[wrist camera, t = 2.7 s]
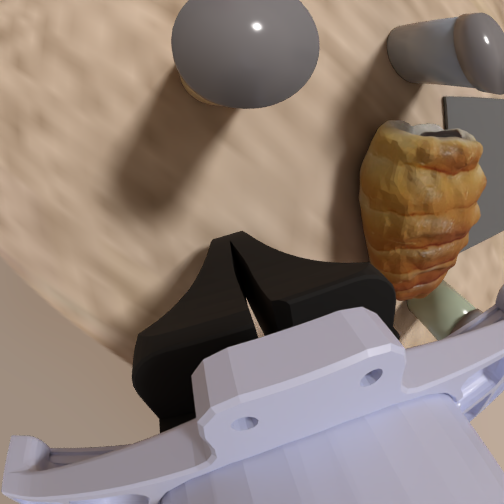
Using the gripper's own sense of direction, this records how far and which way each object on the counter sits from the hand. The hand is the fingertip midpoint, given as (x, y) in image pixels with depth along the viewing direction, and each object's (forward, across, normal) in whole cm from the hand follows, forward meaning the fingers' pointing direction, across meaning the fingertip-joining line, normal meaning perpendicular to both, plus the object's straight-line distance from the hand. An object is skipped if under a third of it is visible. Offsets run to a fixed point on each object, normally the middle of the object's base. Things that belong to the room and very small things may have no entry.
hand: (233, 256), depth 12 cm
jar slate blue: (+1, -10, -7) cm, 13 cm away
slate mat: (+1, -17, 0) cm, 17 cm away
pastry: (+1, -9, 0) cm, 9 cm away
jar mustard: (+1, -1, -7) cm, 7 cm away
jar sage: (+1, -11, +7) cm, 13 cm away
